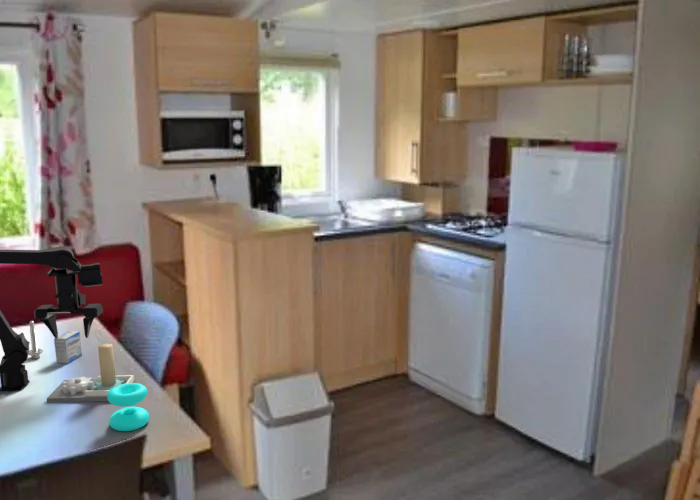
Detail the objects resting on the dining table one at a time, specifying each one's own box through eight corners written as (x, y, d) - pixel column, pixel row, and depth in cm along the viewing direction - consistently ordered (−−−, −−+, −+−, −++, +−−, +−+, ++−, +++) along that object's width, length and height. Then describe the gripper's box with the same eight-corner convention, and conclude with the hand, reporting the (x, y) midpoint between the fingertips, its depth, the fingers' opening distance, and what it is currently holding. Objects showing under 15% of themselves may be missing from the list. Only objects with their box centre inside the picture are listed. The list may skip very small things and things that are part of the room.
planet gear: (96, 396, 188) (92, 353, 185) (91, 385, 195) (87, 344, 192) (127, 389, 192) (123, 347, 189) (121, 379, 199) (117, 339, 197)
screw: (24, 358, 221) (38, 354, 225) (32, 361, 218) (46, 357, 222) (20, 321, 218) (34, 317, 222) (28, 324, 215) (42, 320, 219)
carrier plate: (47, 402, 187) (45, 389, 186) (64, 383, 200) (63, 371, 199) (122, 400, 188) (121, 387, 187) (135, 382, 200) (134, 370, 200)
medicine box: (68, 364, 215) (65, 339, 214) (56, 363, 216) (53, 338, 214) (82, 355, 223) (80, 331, 221) (70, 354, 224) (68, 330, 222)
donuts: (144, 378, 178) (149, 392, 169) (147, 412, 180) (151, 428, 171) (105, 384, 174) (108, 399, 165) (108, 419, 176) (111, 436, 167)
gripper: (106, 281, 206) (111, 328, 210) (46, 282, 206) (52, 329, 209) (94, 290, 195) (99, 340, 199) (30, 292, 195) (36, 342, 198)
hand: (71, 337), depth 201 cm, fingers open, 9 cm apart
